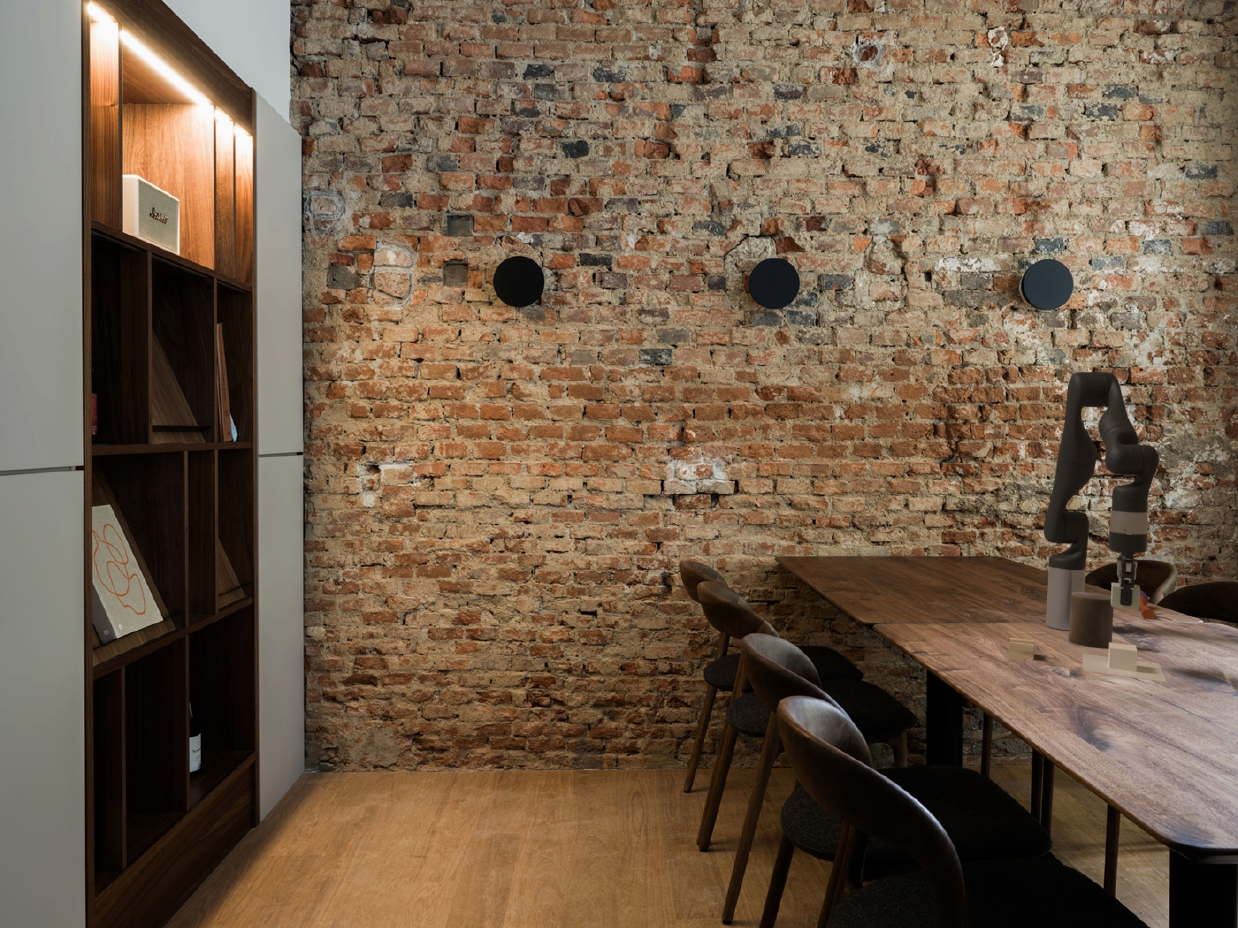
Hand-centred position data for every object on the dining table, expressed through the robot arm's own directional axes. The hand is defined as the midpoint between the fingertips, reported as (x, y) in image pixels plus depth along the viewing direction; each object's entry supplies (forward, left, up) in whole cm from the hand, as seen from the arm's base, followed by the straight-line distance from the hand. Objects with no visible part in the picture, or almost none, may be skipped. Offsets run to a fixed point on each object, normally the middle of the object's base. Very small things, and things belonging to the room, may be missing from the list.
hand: (1125, 602), depth 189 cm
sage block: (0, 0, -1) cm, 1 cm away
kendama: (-78, +9, -17) cm, 80 cm away
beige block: (0, 0, -15) cm, 15 cm away
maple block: (+2, -21, -17) cm, 27 cm away
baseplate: (0, 0, -16) cm, 16 cm away
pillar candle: (-21, -6, -17) cm, 27 cm away
